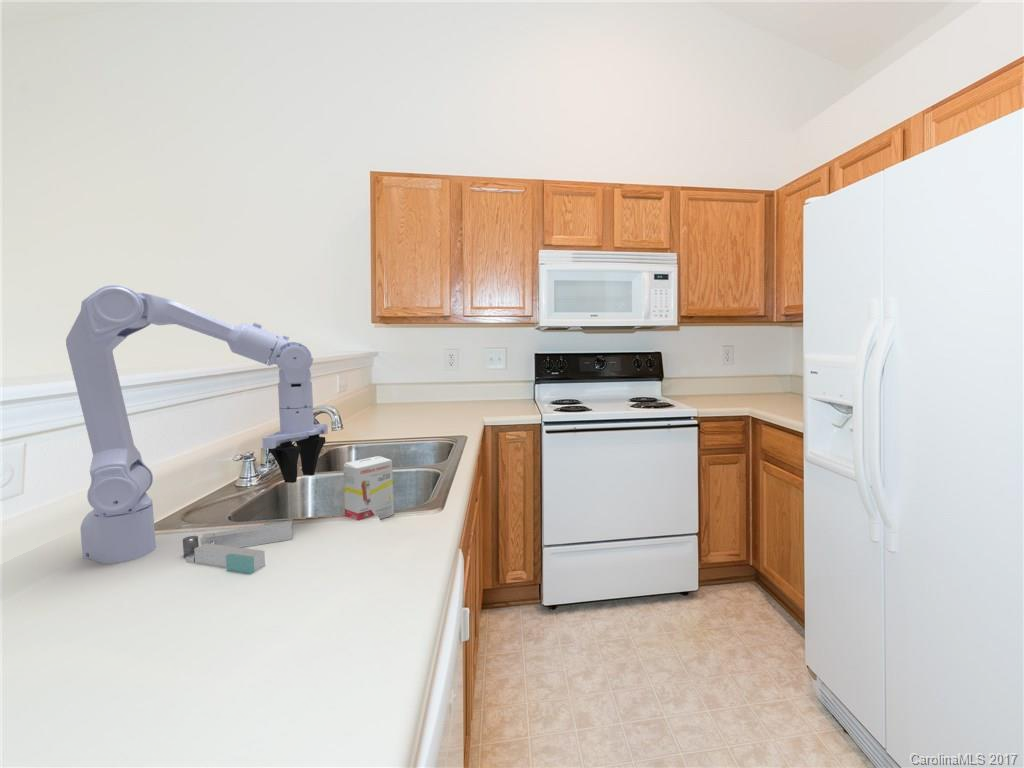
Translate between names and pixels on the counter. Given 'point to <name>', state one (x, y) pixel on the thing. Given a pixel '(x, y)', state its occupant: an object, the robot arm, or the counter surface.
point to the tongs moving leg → (251, 535)
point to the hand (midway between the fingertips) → (299, 478)
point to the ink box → (368, 488)
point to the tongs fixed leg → (223, 556)
